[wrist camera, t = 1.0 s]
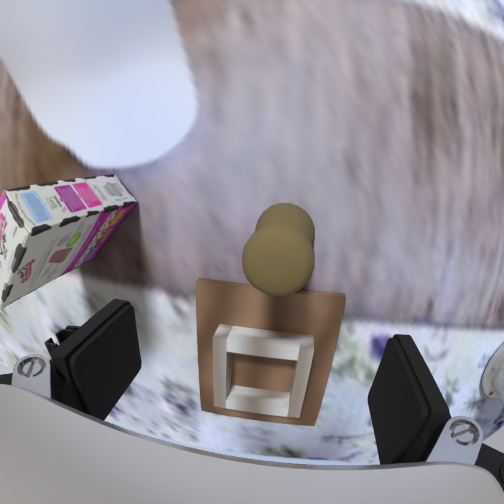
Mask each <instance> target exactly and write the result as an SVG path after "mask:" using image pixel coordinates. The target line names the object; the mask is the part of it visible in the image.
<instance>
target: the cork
mask: <svg viewBox="0 0 504 504" xmlns="http://www.w3.org/2000/svg"><path fill="white" fill-rule="evenodd" d="M314 238H315V228H314V225H313V222H312V219H311V218H310V216H309V215H308V214H307V212H306V211H304V210H303V209H302V208H300V207H299V206H296V205H293V204H290V203H279V204H277V205H274V206H271V207H269V208H268V209H267V210H265V211H264V212H263V213H262V215H261V216H260V218H259V219H258V222H257V225H256V231H255V233H254V234H253V235H252V236H251V237H250V239H249V240H248V242H247V243H246V244H245V247H244V250H243V254H242V265H243V270H244V273H245V275H246V278H247V279H248V281H249V282H250V283H251V284H252V286H253V287H254V288H256V289H257V290H259V291H260V292H262V293H264V294H268V295H271V296H286V295H289V294H293V293H295V292H296V291H298V290H299V289H301V288H302V287H303V286H304V285H305V284H306V282H307V281H308V280H309V279H310V277H311V275H312V272H313V269H314V252H313V249H312V243H313V241H314Z"/></svg>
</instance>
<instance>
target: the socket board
mask: <svg viewBox="0 0 504 504" xmlns="http://www.w3.org/2000/svg"><path fill="white" fill-rule="evenodd" d="M345 300H346V298H345V294H340V293H329V292H319V291H308V290H298V291H296V292H295V293H293V294H289V295H286V296H271V295H268V294H264V293H262V292H260V291H259V290H257V289H256V288H254V287H253V286H252V285H251V284H243V283H234V282H226V281H218V280H209V279H201V278H199V279H198V280H197V281H196V316H197V345H198V366H199V384H200V399H201V410H202V411H207V412H212V413H217V414H223V415H228V416H234V417H240V418H246V419H253V420H260V421H268V422H277V423H286V424H297V425H310V426H315V422H316V419H317V416H318V412H319V409H320V405H321V402H322V398H323V395H324V391H325V387H326V384H327V380H328V376H329V372H330V368H331V364H332V360H333V356H334V352H335V347H336V343H337V339H338V334H339V329H340V325H341V320H342V315H343V310H344V305H345Z"/></svg>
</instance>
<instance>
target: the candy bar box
mask: <svg viewBox="0 0 504 504" xmlns="http://www.w3.org/2000/svg"><path fill="white" fill-rule="evenodd" d="M136 203H137V200H136V199H135V198H134V196H133V195H132V194H131V193H130V192H129V191H128V189H127V188H126V187H125V185H124V184H123V183H122V182H121V180H120V179H119V178H118V177H117V176H116V175H115V174H110V175H102V176H93V177H86V178H76V179H70V180H63V181H55V182H48V183H42V184H37V185H30V186H24V187H19V188H14V189H9V190H4V191H3V193H2V196H1V199H0V309H3V308H4V307H6V306H7V305H9V304H11V303H13V302H14V301H16V300H17V299H20V298H21V297H23V296H25V295H27V294H29V293H31V292H32V291H34V290H36V289H38V288H39V287H41V286H43V285H45V284H47V283H49V282H51V281H52V280H54V279H56V278H58V277H60V276H62V275H64V274H66V273H68V272H70V271H71V270H73V269H75V268H77V267H79V266H81V265H83V264H85V263H87V262H89V261H91V260H93V259H94V257H95V256H96V255H97V253H98V252H99V250H100V249H101V248H102V246H103V245H104V244H105V242H106V241H107V240H108V238H109V237H110V236H111V234H112V233H113V232H114V230H115V229H116V228H117V227H118V225H119V224H120V223H121V222H122V220H123V219H124V218H125V217H126V215H127V214H128V213H129V212H130V211H131V209H132V208H133V207H134V206H135V205H136Z"/></svg>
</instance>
